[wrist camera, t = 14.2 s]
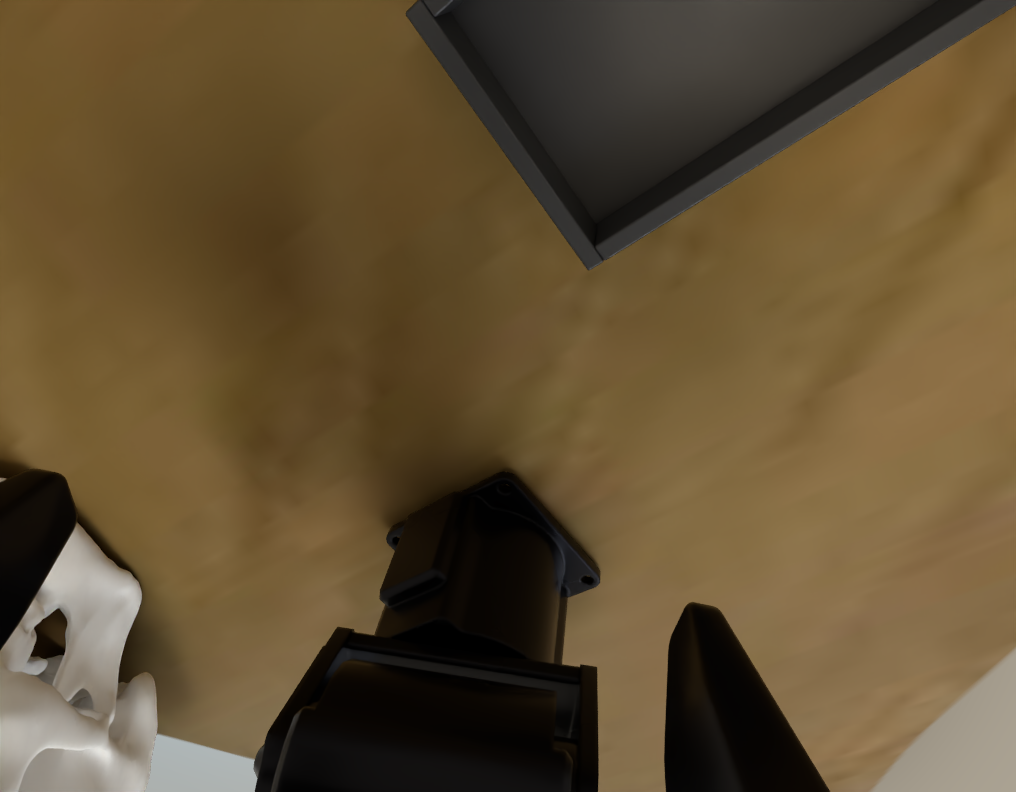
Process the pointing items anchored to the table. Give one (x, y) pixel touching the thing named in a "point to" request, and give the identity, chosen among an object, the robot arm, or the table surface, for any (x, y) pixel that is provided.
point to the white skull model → (77, 685)
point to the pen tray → (669, 90)
